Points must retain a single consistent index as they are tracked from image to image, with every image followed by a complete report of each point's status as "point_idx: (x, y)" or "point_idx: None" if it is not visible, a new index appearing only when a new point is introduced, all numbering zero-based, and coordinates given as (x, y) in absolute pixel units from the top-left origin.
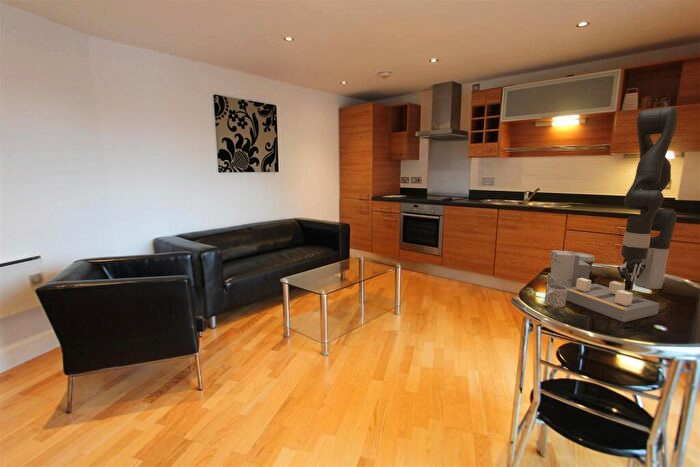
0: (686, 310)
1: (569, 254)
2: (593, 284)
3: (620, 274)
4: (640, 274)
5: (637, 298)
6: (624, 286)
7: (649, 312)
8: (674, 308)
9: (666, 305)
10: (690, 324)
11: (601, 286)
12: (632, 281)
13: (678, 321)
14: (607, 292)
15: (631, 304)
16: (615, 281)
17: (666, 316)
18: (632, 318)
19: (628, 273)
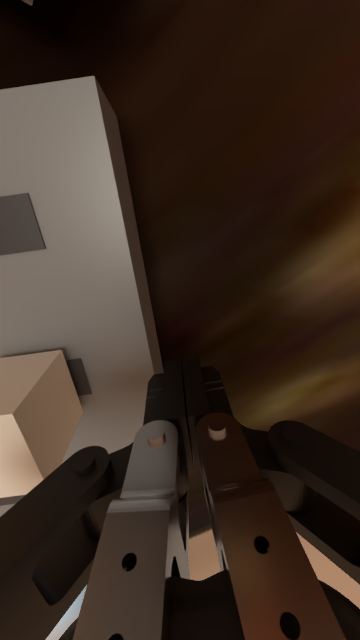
0: (356, 449)
1: None
2: (42, 105)
3: (2, 527)
4: (349, 530)
5: None
6: (51, 470)
7: None
8: (335, 427)
9: (346, 398)
10: (203, 525)
11: (82, 194)
12: (187, 467)
13: (189, 507)
14: (10, 338)
15: (6, 506)
16: (7, 421)
17: (194, 475)
18: None
19: (47, 633)
